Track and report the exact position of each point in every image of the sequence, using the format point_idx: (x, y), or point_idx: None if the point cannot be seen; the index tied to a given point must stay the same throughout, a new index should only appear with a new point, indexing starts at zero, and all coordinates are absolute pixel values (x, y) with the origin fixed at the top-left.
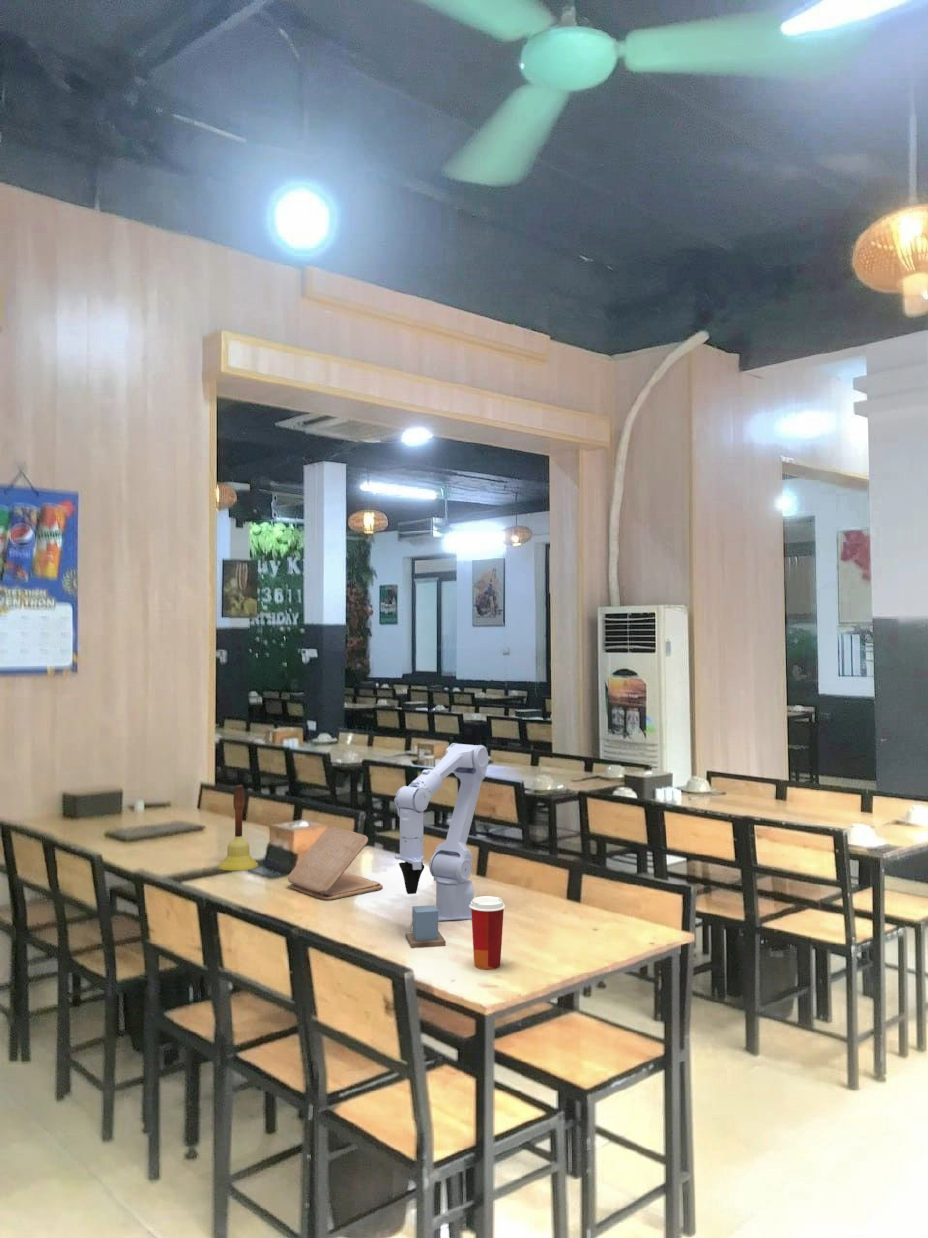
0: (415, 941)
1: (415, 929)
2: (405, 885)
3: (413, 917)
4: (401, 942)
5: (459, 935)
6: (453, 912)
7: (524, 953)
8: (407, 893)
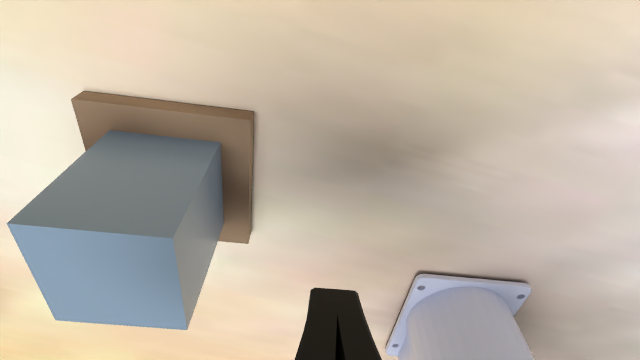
0: (105, 127)
1: (102, 159)
2: (350, 342)
3: (150, 194)
4: (182, 72)
5: (238, 282)
6: (412, 333)
7: (47, 354)
8: (328, 290)
